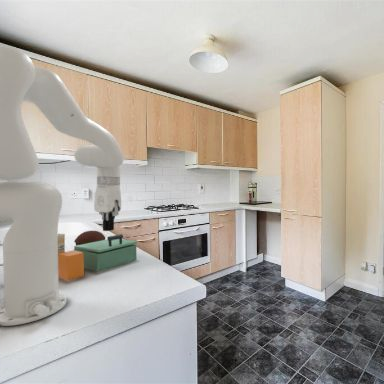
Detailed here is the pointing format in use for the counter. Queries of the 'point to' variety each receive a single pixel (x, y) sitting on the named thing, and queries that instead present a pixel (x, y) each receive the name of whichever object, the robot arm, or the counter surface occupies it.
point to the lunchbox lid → (106, 244)
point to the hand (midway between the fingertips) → (108, 230)
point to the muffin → (89, 237)
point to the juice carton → (71, 265)
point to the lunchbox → (108, 257)
